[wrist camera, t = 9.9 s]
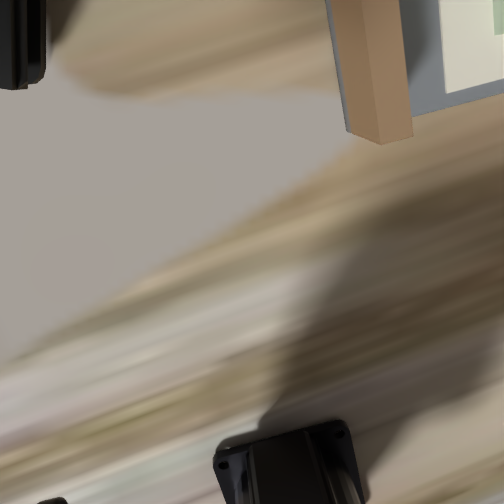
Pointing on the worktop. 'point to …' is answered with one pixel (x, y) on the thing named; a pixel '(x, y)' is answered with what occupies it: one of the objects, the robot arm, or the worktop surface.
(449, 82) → the arena
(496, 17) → the sage block
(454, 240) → the worktop surface
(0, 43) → the end cap
